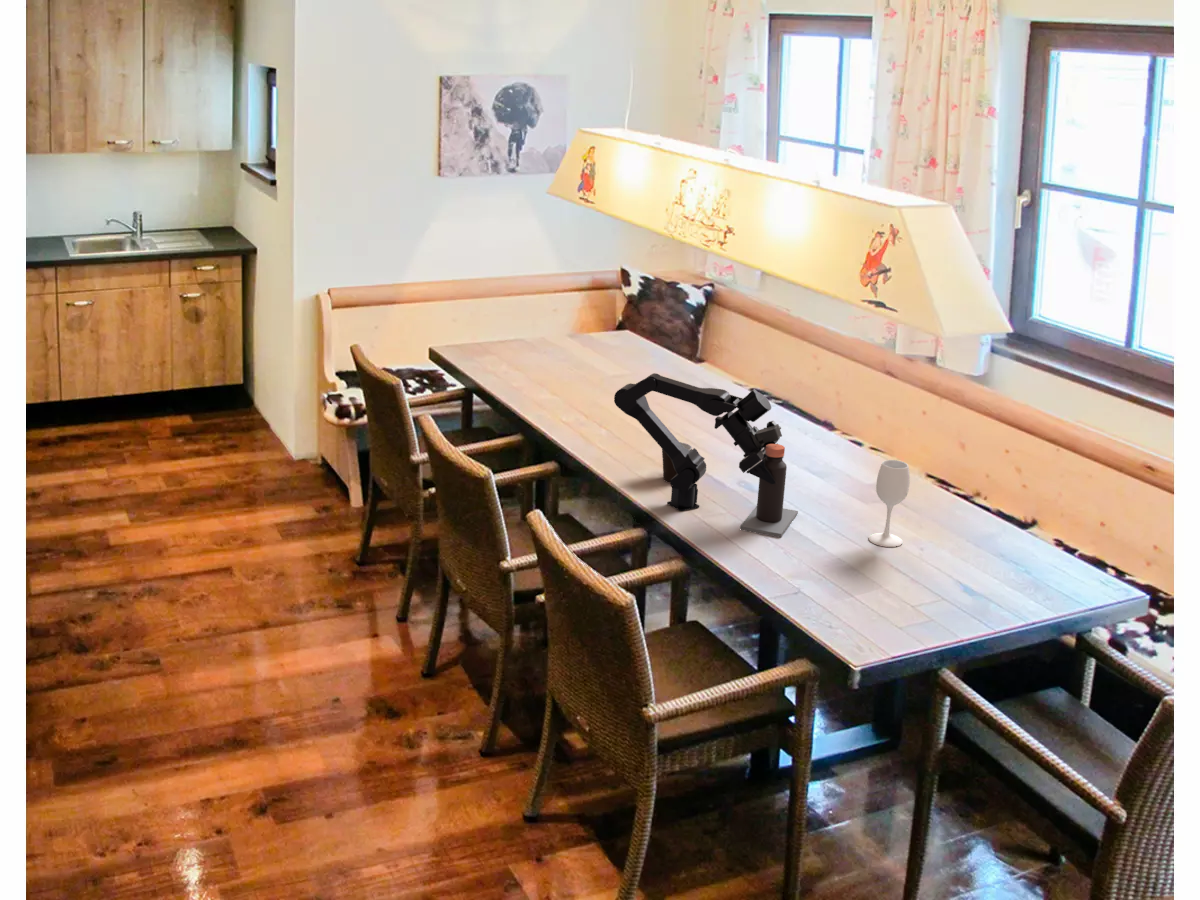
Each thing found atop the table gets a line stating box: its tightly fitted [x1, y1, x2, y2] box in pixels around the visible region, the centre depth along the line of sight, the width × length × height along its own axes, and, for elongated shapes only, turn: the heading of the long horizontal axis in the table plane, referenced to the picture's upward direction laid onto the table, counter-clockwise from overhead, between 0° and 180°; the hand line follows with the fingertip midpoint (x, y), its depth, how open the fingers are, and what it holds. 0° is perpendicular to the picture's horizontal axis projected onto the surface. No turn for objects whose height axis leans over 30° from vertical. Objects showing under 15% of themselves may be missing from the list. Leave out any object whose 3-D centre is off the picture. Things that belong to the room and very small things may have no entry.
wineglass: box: [868, 459, 911, 548], centre depth 332 cm, size 9×9×21 cm
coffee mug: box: [661, 441, 693, 484], centre depth 370 cm, size 12×9×10 cm
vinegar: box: [756, 443, 787, 522], centre depth 340 cm, size 7×7×20 cm
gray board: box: [739, 505, 799, 538], centre depth 343 cm, size 11×18×1 cm, turn 159°
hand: (778, 478), depth 339 cm, fingers open, 8 cm apart
